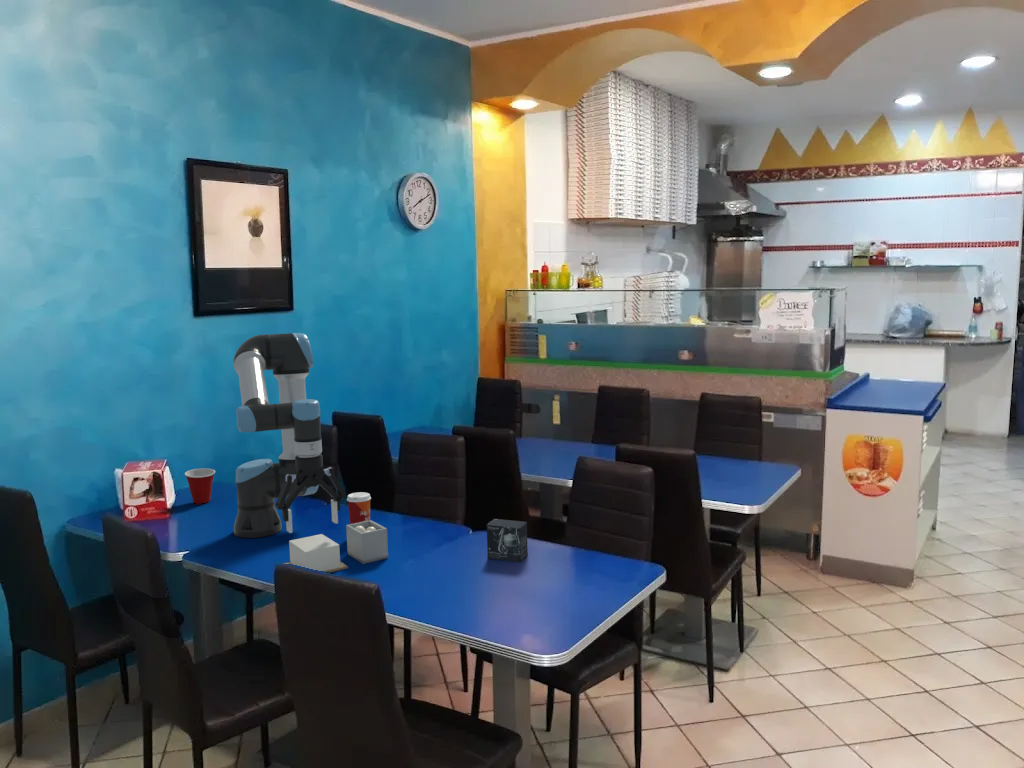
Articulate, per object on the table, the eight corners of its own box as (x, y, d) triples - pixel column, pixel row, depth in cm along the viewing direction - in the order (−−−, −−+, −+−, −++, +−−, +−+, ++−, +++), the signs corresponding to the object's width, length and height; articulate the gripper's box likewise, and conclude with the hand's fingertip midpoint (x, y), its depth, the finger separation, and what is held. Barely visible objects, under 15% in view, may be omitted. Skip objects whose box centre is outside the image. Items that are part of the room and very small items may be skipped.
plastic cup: (195, 508, 305) (193, 476, 303) (181, 503, 312) (179, 472, 310) (223, 501, 313) (220, 470, 311) (208, 497, 320) (206, 466, 318)
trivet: (283, 565, 240) (282, 563, 240) (328, 555, 248) (328, 553, 248) (300, 579, 229) (300, 577, 229) (347, 568, 237) (347, 566, 237)
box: (486, 559, 242) (485, 524, 240) (495, 552, 248) (494, 518, 246) (520, 562, 238) (519, 527, 237) (528, 555, 244) (527, 521, 243)
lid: (290, 562, 241) (289, 540, 240) (323, 555, 247) (321, 533, 246) (306, 575, 230) (305, 552, 230) (340, 567, 236) (339, 544, 235)
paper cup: (367, 541, 260) (365, 498, 259) (344, 540, 262) (342, 497, 260) (376, 534, 268) (374, 491, 266) (354, 533, 269) (352, 491, 268)
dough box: (347, 554, 249) (346, 525, 248) (372, 548, 254) (370, 520, 252) (363, 563, 240) (361, 533, 239) (388, 558, 245) (386, 528, 243)
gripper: (269, 463, 224) (274, 539, 228) (355, 450, 238) (358, 521, 242) (260, 458, 230) (265, 532, 234) (344, 445, 244) (347, 515, 248)
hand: (312, 527), depth 238 cm, fingers open, 13 cm apart
